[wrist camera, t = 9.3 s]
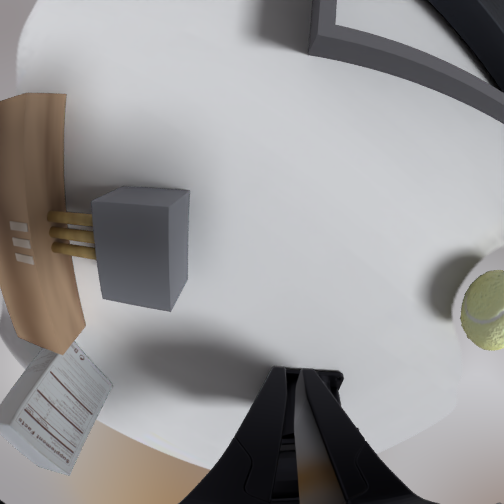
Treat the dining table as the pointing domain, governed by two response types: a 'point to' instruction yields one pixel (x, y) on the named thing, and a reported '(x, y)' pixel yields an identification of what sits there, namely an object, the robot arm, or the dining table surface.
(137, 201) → the box
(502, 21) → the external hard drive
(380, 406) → the dining table surface
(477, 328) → the tennis ball
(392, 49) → the bumper frame
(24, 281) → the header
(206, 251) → the dining table surface
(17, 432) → the supplement box
